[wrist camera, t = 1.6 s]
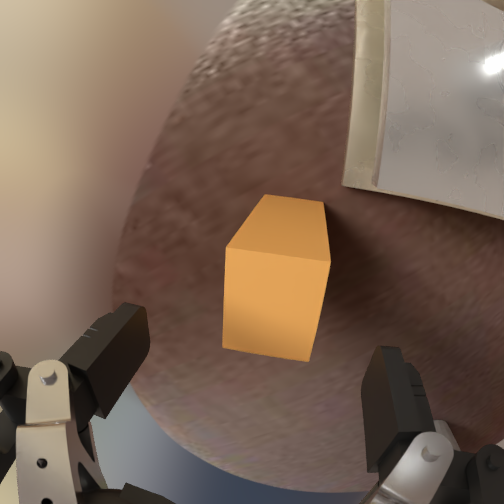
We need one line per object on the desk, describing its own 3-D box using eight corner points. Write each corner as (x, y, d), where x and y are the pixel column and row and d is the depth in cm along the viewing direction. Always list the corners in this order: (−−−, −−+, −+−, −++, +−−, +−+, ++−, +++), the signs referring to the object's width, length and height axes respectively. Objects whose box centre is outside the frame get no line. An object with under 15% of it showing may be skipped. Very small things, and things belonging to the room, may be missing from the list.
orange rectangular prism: (323, 202, 20) (330, 262, 11) (312, 268, 22) (308, 361, 13) (264, 194, 21) (226, 247, 12) (258, 261, 23) (222, 347, 14)
